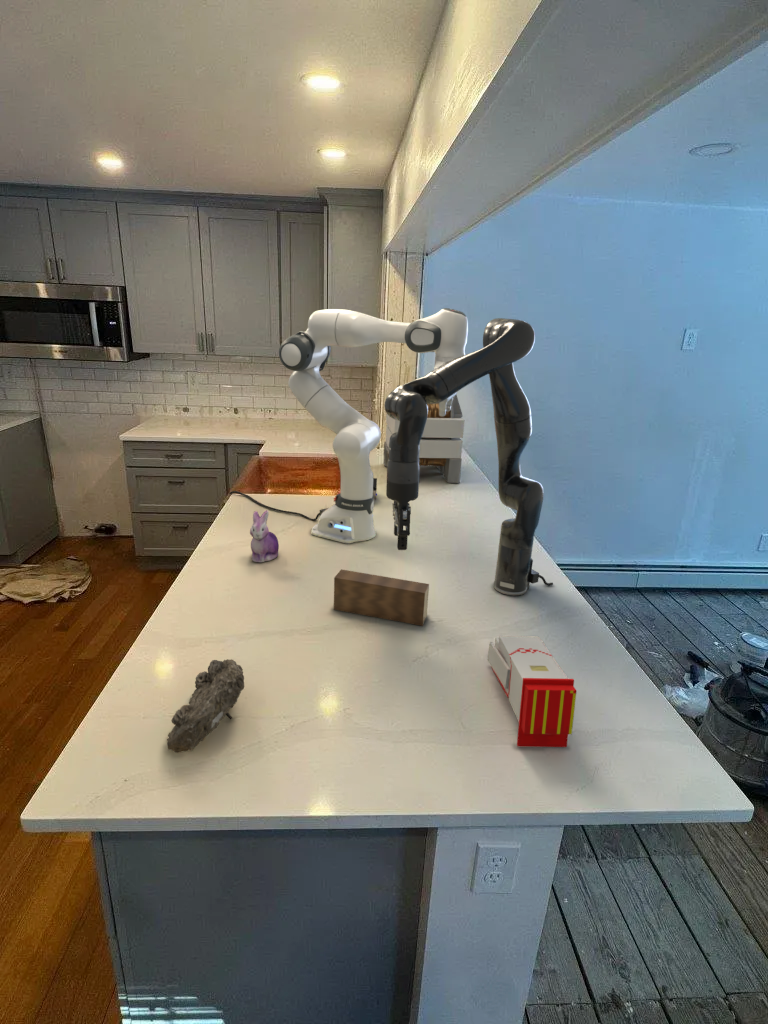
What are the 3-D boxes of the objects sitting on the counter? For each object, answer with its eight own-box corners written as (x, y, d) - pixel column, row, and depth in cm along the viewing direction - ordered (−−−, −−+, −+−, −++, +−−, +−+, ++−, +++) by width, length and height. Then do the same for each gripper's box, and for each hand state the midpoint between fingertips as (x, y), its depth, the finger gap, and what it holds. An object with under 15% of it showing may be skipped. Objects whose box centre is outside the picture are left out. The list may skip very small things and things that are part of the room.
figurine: (254, 565, 170) (252, 519, 165) (245, 552, 179) (243, 508, 174) (284, 560, 175) (283, 515, 169) (274, 548, 183) (273, 504, 178)
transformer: (382, 463, 289) (386, 382, 275) (445, 464, 293) (451, 384, 279) (390, 482, 257) (394, 392, 243) (460, 483, 261) (468, 394, 247)
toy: (536, 619, 129) (586, 686, 99) (531, 673, 131) (578, 754, 102) (483, 618, 128) (517, 685, 99) (479, 672, 131) (511, 753, 102)
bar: (333, 609, 148) (334, 577, 145) (340, 600, 153) (341, 569, 150) (422, 625, 142) (425, 593, 139) (426, 616, 147) (429, 584, 144)
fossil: (192, 660, 117) (244, 628, 112) (224, 691, 120) (276, 661, 115) (142, 746, 98) (202, 712, 93) (182, 779, 101) (242, 748, 96)
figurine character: (377, 508, 228) (376, 492, 242) (377, 490, 225) (377, 476, 238) (360, 507, 228) (361, 492, 242) (360, 490, 225) (361, 475, 238)
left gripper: (444, 363, 178) (440, 407, 183) (432, 368, 160) (428, 417, 164) (464, 364, 177) (460, 409, 182) (454, 370, 158) (449, 420, 163)
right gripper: (423, 487, 125) (419, 554, 130) (415, 469, 138) (412, 530, 144) (389, 487, 124) (387, 554, 130) (384, 469, 137) (382, 531, 143)
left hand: (445, 413), depth 173 cm, fingers open, 8 cm apart
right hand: (400, 542), depth 137 cm, fingers open, 8 cm apart
